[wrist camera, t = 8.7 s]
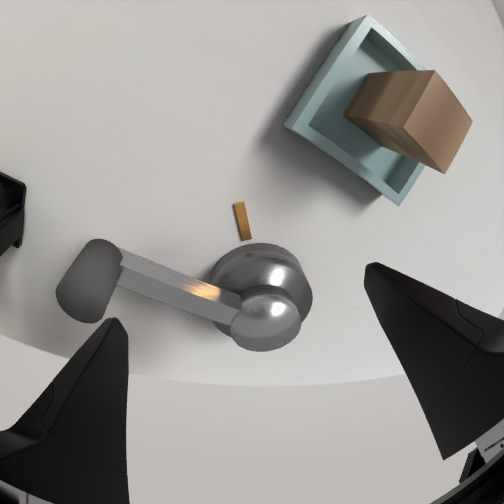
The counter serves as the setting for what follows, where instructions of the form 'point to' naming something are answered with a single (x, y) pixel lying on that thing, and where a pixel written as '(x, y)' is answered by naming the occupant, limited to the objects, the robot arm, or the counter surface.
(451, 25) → the counter surface
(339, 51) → the tray
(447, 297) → the robot arm
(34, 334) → the counter surface
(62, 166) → the counter surface
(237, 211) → the crank base
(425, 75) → the block
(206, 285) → the crank
